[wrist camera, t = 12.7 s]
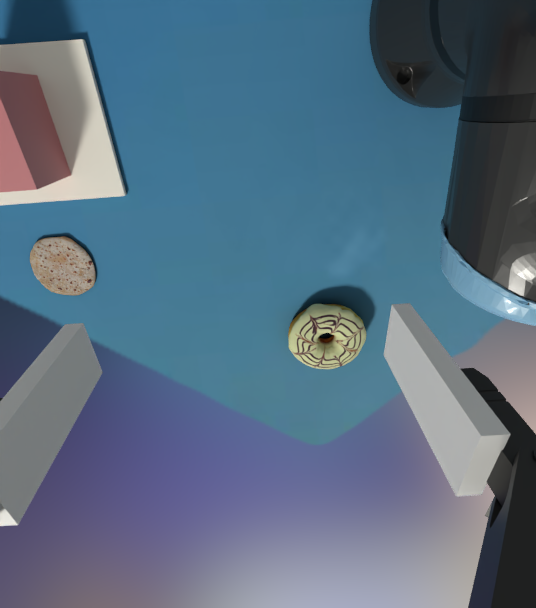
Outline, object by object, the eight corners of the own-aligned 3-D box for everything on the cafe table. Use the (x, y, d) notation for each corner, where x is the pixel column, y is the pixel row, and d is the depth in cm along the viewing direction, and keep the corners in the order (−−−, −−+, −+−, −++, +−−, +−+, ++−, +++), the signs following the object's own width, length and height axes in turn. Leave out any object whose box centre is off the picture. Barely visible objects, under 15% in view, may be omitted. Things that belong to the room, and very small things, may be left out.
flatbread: (97, 297, 45) (95, 301, 45) (36, 288, 44) (32, 291, 43) (95, 239, 42) (92, 242, 41) (28, 228, 40) (23, 231, 40)
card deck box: (71, 175, 37) (37, 189, 31) (34, 178, 37) (-8, 193, 31) (37, 75, 32) (-12, 69, 26) (-6, 78, 32) (-64, 73, 26)
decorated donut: (302, 289, 46) (306, 303, 43) (372, 307, 49) (381, 322, 45) (278, 348, 51) (279, 364, 48) (342, 362, 53) (348, 379, 50)
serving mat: (84, 40, 32) (82, 39, 31) (126, 194, 39) (125, 195, 38) (-68, 50, 31) (-73, 50, 31) (2, 203, 39) (-1, 205, 38)
